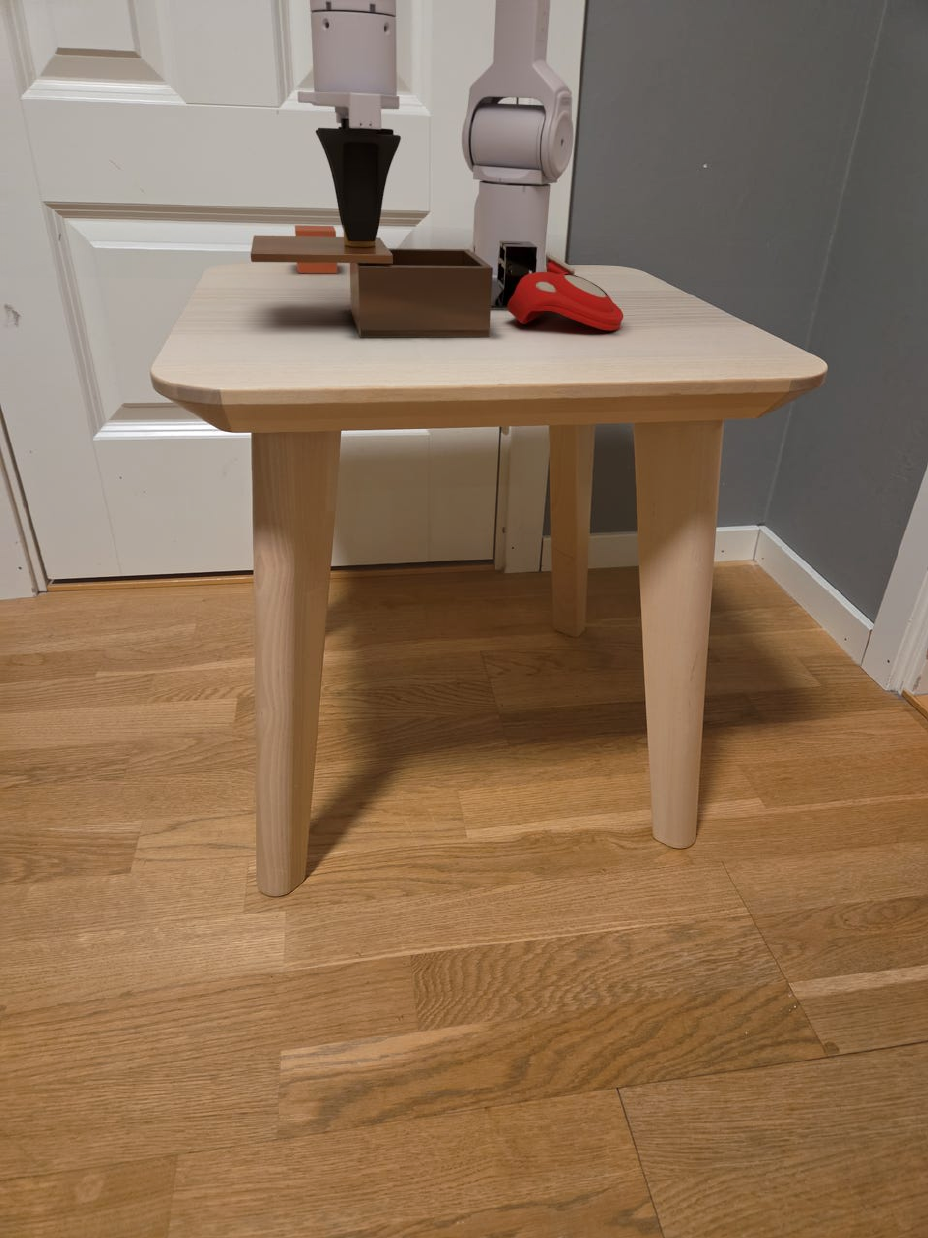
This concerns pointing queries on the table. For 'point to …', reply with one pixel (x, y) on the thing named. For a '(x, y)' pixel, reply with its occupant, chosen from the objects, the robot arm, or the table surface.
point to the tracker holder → (563, 297)
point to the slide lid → (318, 250)
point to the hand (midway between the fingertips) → (359, 237)
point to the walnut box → (422, 294)
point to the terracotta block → (320, 232)
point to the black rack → (511, 270)
